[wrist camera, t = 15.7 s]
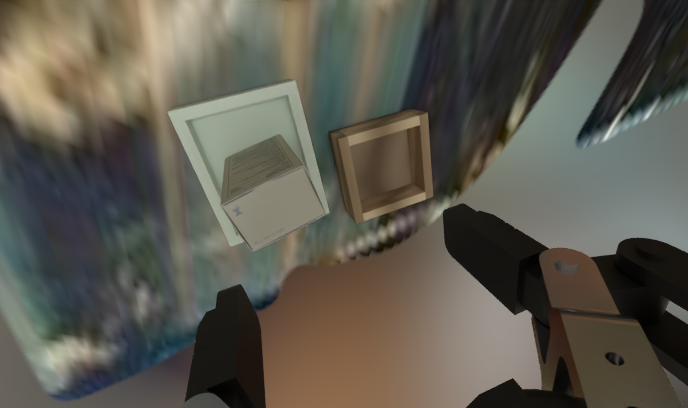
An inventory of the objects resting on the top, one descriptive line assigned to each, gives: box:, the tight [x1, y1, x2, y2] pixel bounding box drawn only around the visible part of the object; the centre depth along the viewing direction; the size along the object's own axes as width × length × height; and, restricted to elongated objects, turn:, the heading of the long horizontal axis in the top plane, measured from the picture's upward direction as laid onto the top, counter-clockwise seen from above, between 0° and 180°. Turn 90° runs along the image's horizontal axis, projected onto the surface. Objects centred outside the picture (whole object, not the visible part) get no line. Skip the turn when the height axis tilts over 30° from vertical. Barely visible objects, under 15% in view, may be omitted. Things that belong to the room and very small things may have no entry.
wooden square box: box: [328, 109, 433, 224], centre depth 34 cm, size 10×10×4 cm
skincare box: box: [220, 134, 326, 252], centre depth 26 cm, size 6×4×12 cm
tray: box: [167, 79, 330, 247], centre depth 30 cm, size 11×14×3 cm
